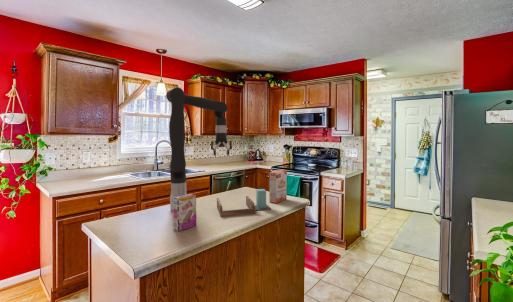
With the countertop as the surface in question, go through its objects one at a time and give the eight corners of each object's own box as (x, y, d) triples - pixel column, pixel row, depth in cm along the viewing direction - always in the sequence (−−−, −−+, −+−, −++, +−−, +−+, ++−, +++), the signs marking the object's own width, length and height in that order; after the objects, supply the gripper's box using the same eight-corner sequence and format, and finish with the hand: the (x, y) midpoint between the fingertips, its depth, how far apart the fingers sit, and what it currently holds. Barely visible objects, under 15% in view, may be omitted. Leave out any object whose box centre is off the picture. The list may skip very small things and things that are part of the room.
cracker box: (276, 203, 179) (276, 172, 177) (269, 202, 182) (268, 172, 181) (287, 199, 190) (287, 170, 188) (280, 198, 193) (279, 169, 192)
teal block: (256, 206, 171) (256, 189, 170) (263, 205, 173) (263, 188, 172) (258, 208, 166) (258, 191, 166) (266, 207, 168) (266, 190, 167)
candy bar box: (178, 232, 130) (177, 199, 129) (172, 229, 133) (171, 197, 132) (197, 225, 139) (196, 194, 137) (191, 223, 142) (190, 193, 141)
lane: (216, 207, 171) (216, 198, 171) (247, 204, 176) (247, 196, 176) (220, 216, 153) (220, 206, 152) (255, 213, 158) (254, 203, 157)
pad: (251, 206, 173) (251, 205, 173) (266, 205, 175) (266, 204, 175) (255, 210, 163) (255, 210, 163) (271, 209, 166) (271, 208, 166)
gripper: (211, 132, 177) (211, 156, 178) (232, 132, 180) (232, 156, 182) (210, 132, 184) (210, 155, 185) (230, 132, 188) (230, 155, 189)
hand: (221, 155), depth 184 cm, fingers open, 8 cm apart
